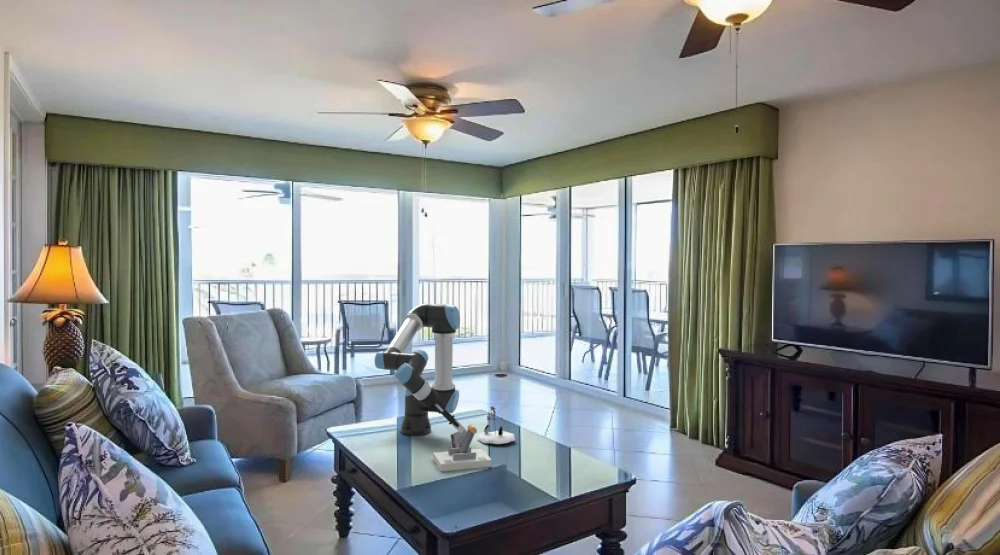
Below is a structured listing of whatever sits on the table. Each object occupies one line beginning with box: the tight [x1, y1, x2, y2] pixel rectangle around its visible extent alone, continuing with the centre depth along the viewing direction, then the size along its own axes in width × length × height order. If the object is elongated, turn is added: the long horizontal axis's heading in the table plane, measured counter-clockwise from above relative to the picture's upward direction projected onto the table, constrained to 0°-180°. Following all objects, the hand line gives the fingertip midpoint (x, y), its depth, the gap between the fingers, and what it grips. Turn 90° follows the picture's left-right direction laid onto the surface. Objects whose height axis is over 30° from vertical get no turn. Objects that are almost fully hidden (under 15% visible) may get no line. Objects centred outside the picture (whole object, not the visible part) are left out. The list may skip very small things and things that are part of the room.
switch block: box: [432, 446, 493, 472], centre depth 249 cm, size 14×22×5 cm, turn 110°
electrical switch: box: [450, 429, 467, 448], centre depth 267 cm, size 8×5×8 cm, turn 141°
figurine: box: [477, 406, 516, 445], centre depth 282 cm, size 20×18×16 cm
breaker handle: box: [458, 423, 478, 453], centre depth 249 cm, size 6×2×13 cm, turn 20°
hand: (462, 430), depth 249 cm, fingers closed
